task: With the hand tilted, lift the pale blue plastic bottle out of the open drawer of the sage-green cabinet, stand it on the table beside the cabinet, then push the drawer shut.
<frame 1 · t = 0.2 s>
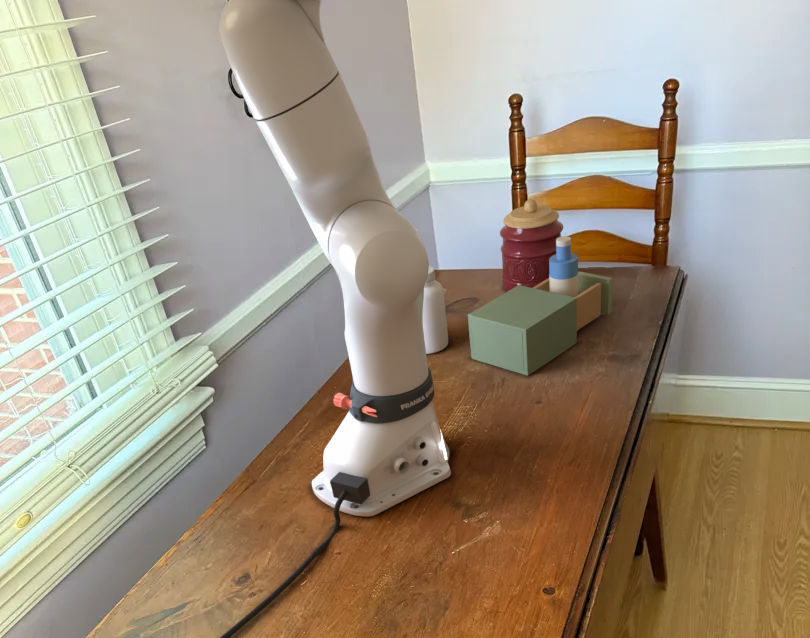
pill bottle: (428, 346, 153), on the table
kitchen canister: (533, 285, 169), on the table
cabinet: (524, 350, 146), on the table
drawer: (571, 298, 151), point 4 cm above the table, slide at 11.0 cm, touching bottle
bottle: (564, 314, 151), point 2 cm above the table, touching drawer
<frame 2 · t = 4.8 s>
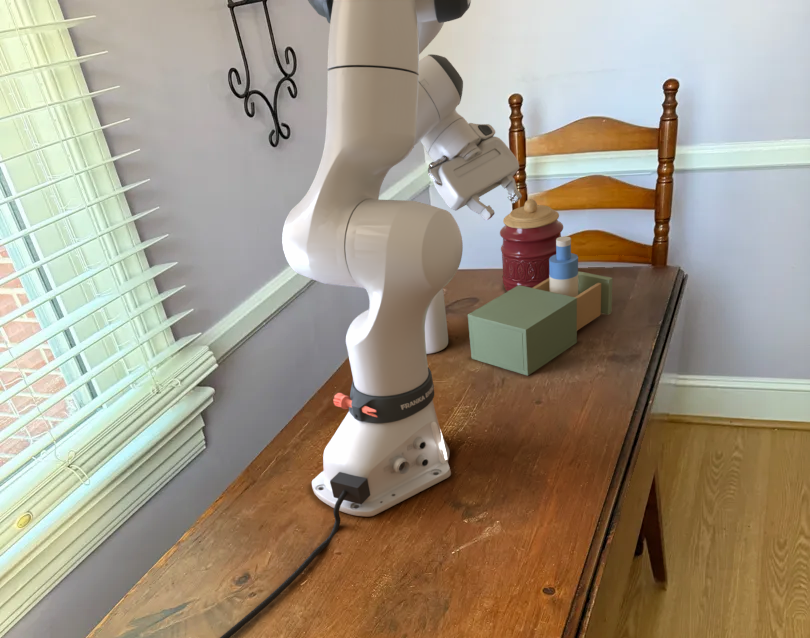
hand: (504, 208, 146), 21 cm above the table, tool tilted 45°, fingers open, 8 cm apart
nothing on the table moved.
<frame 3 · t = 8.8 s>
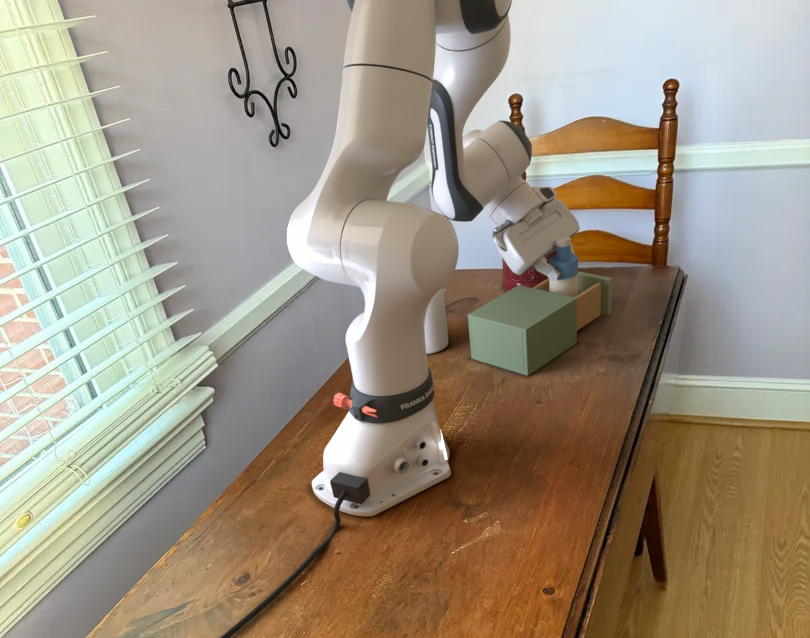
hand: (566, 271, 145), 11 cm above the table, tool tilted 45°, fingers closed on bottle, 5 cm apart
bottle: (563, 314, 151), point 2 cm above the table, touching drawer, gripper
everything else where it was.
when the fingers open (8 cm above the table, at t = 17.0 s): bottle stays where it is, on the table.
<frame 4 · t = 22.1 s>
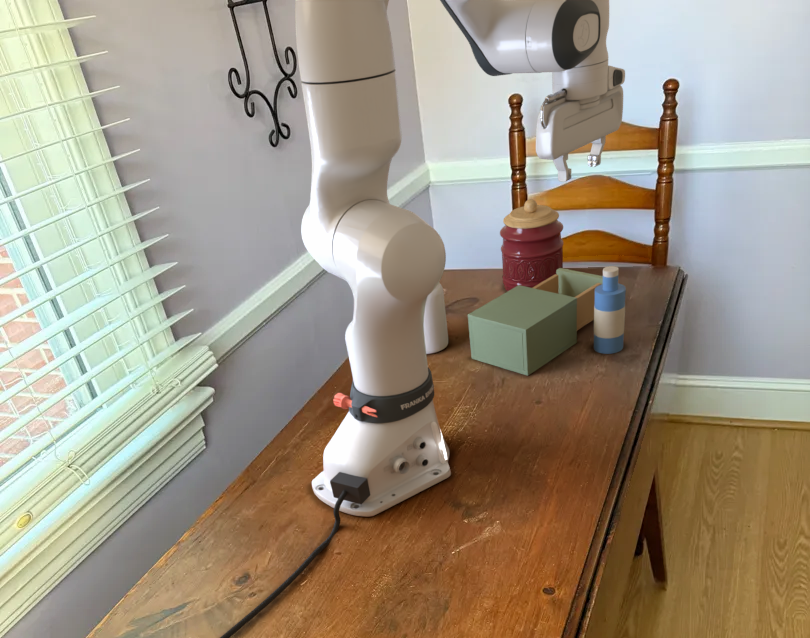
hand: (579, 173, 136), 27 cm above the table, tool pointing down, fingers open, 7 cm apart
drawer: (571, 298, 151), point 4 cm above the table, slide at 10.9 cm
bottle: (608, 347, 143), on the table
everything else where it was.
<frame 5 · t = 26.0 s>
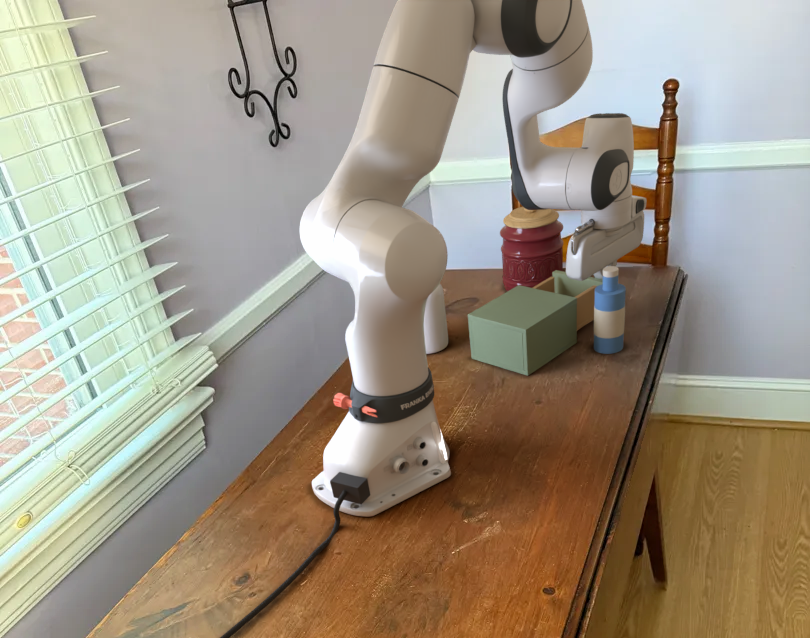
hand: (604, 286, 150), 6 cm above the table, tool pointing down, fingers closed
drawer: (567, 301, 150), point 4 cm above the table, slide at 9.6 cm, touching gripper
everything else where it was.
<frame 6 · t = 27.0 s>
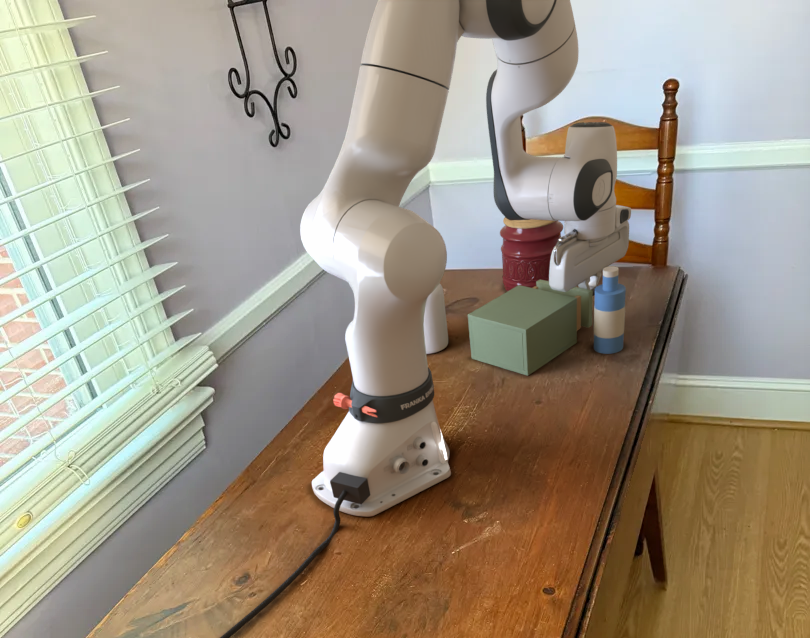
hand: (588, 296, 148), 5 cm above the table, tool pointing down, fingers closed
drawer: (550, 311, 147), point 4 cm above the table, slide at 4.5 cm, touching gripper
everything else where it was.
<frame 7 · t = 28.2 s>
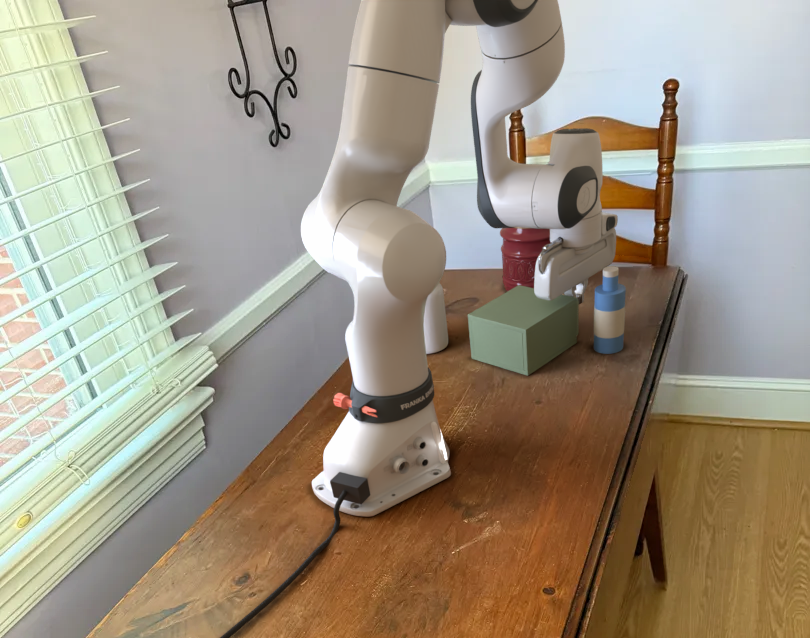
hand: (575, 305, 145), 6 cm above the table, tool pointing down, fingers closed
drawer: (536, 320, 145), point 4 cm above the table, slide at 0.2 cm
everything else where it was.
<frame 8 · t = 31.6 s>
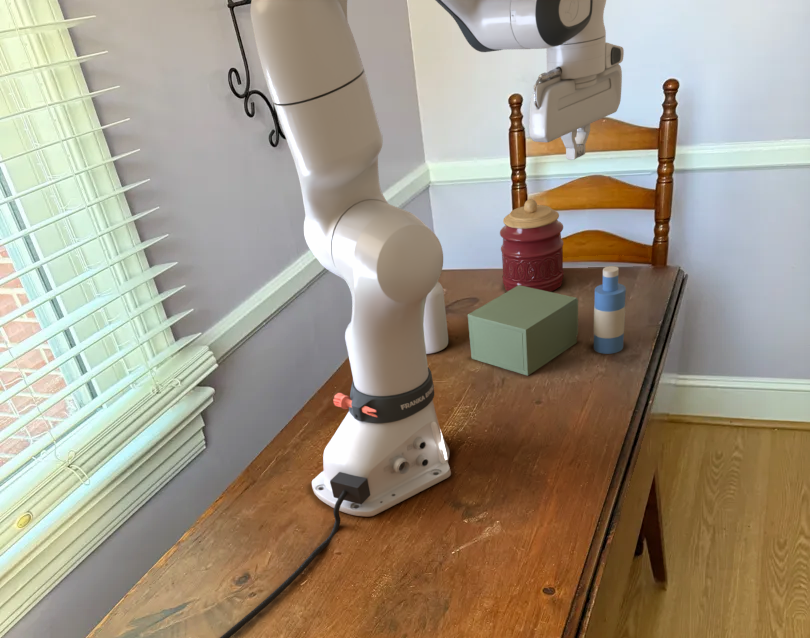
hand: (575, 157, 129), 31 cm above the table, tool pointing down, fingers closed
nothing on the table moved.
at the end: bottle inside the target area (0.1 cm from its centre), on the table; bottle tilted 0°; drawer slide at 0.0 cm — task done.
